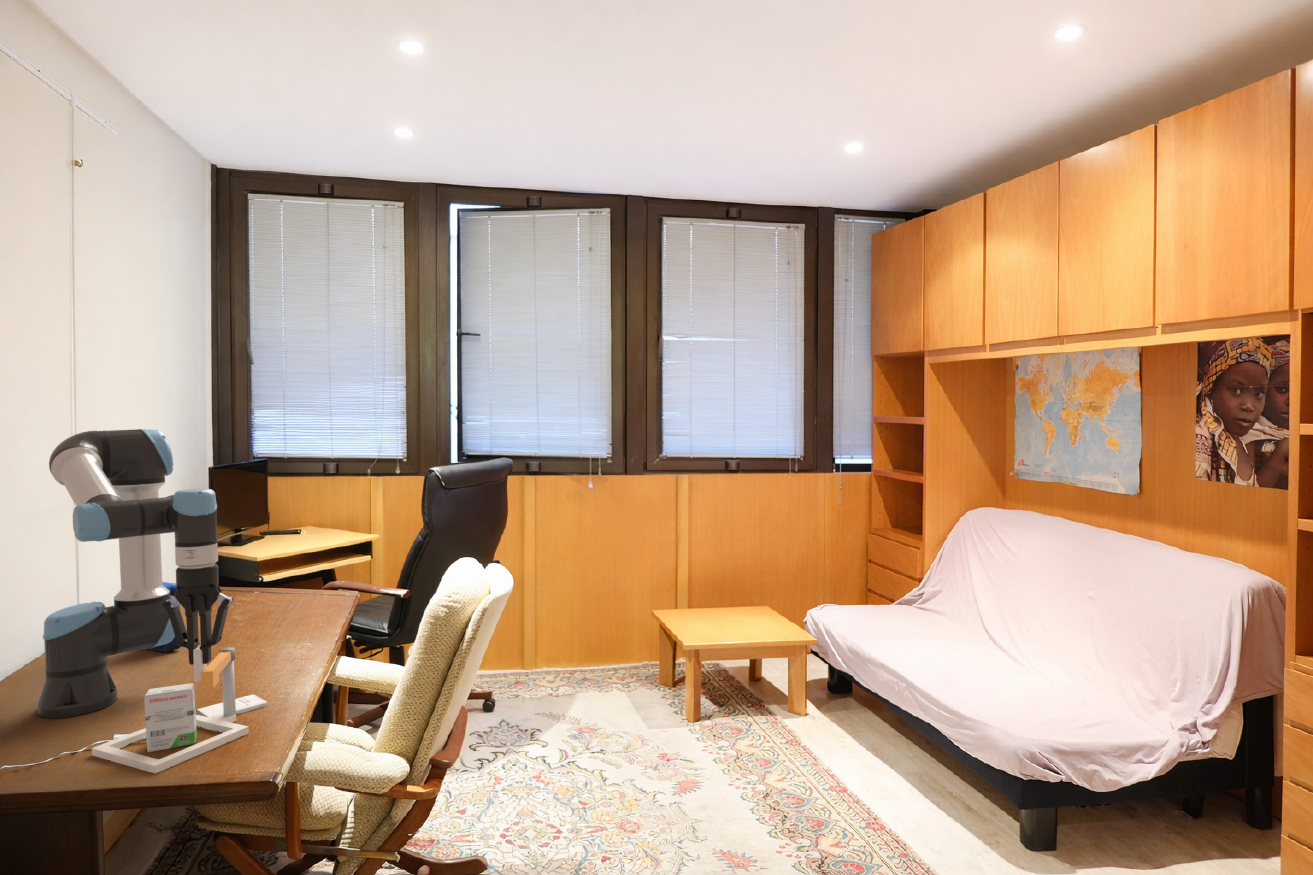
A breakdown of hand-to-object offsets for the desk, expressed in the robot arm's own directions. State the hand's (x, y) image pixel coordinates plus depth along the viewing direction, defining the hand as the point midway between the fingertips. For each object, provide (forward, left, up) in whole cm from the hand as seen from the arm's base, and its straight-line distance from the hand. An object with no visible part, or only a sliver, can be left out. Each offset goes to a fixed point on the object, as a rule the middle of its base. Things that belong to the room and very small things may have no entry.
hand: (200, 679), depth 162 cm
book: (-75, +39, -14) cm, 86 cm away
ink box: (-7, -2, -14) cm, 16 cm away
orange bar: (-3, +6, -1) cm, 7 cm away
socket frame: (-7, 0, -14) cm, 16 cm away
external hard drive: (-13, +16, -15) cm, 25 cm away
